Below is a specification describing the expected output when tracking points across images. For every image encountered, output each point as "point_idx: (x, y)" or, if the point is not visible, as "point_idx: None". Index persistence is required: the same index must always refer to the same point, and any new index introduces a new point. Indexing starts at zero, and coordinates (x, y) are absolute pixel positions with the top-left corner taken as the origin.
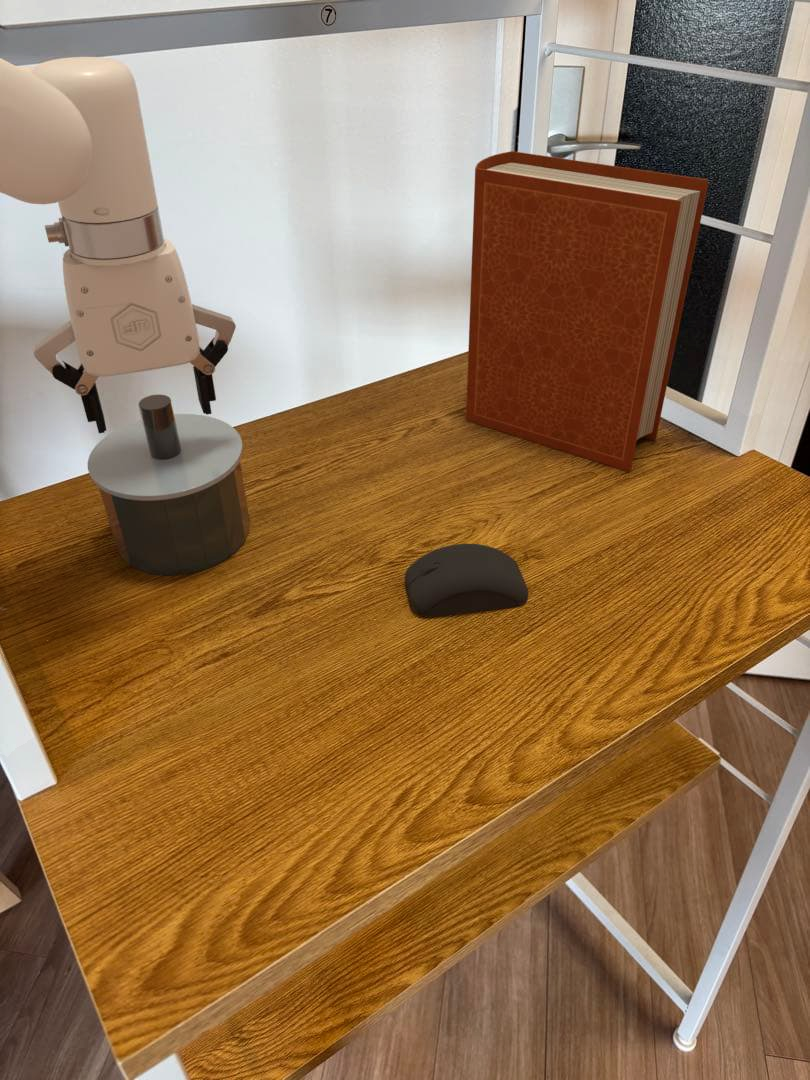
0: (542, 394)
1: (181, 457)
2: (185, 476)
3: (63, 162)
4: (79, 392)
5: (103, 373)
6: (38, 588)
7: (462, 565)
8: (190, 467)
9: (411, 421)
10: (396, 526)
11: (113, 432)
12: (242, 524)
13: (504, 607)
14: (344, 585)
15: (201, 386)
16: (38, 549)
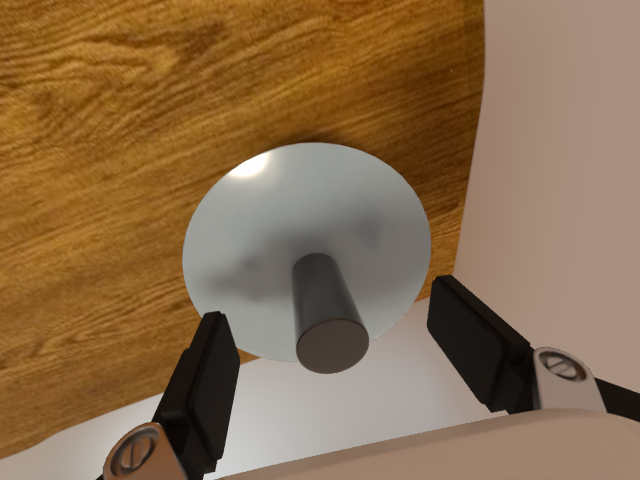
0: None
1: (291, 254)
2: (284, 194)
3: None
4: (556, 357)
5: (592, 422)
6: (446, 165)
7: None
8: (275, 221)
9: (35, 367)
10: (19, 170)
11: (384, 331)
12: None
13: None
14: (85, 53)
15: (194, 378)
16: (437, 226)
